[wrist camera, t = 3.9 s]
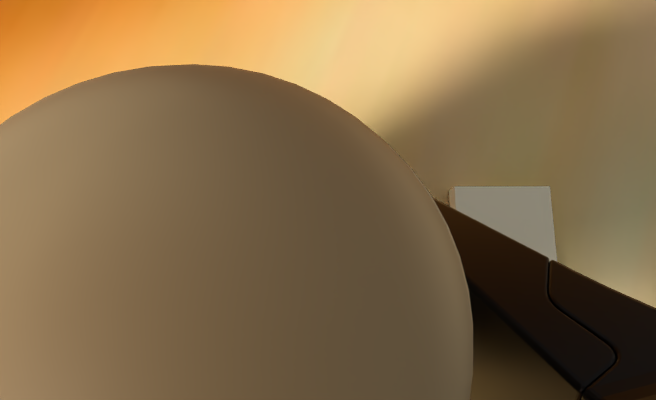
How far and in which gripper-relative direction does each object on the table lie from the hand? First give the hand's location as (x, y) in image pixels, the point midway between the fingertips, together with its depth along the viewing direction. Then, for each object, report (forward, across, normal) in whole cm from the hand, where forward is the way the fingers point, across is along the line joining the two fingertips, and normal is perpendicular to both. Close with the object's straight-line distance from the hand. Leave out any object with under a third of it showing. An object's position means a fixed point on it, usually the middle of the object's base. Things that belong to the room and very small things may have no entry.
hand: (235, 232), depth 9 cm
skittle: (+4, 0, +6) cm, 7 cm away
